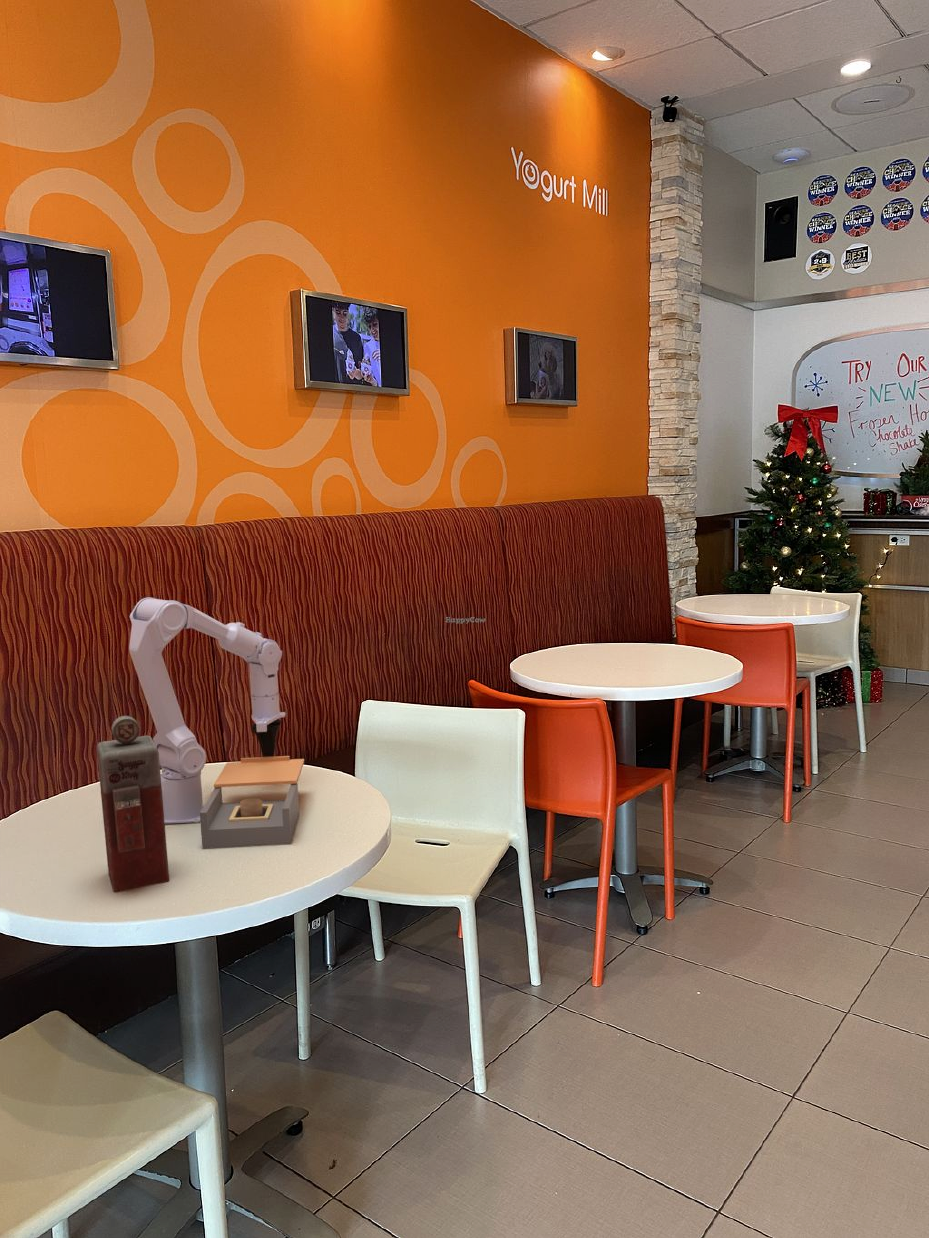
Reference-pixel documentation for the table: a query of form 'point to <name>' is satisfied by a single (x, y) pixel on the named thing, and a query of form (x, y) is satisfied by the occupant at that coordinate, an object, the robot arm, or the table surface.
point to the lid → (260, 772)
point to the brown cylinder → (251, 807)
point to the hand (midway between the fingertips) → (268, 755)
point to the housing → (248, 822)
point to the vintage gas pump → (132, 808)
